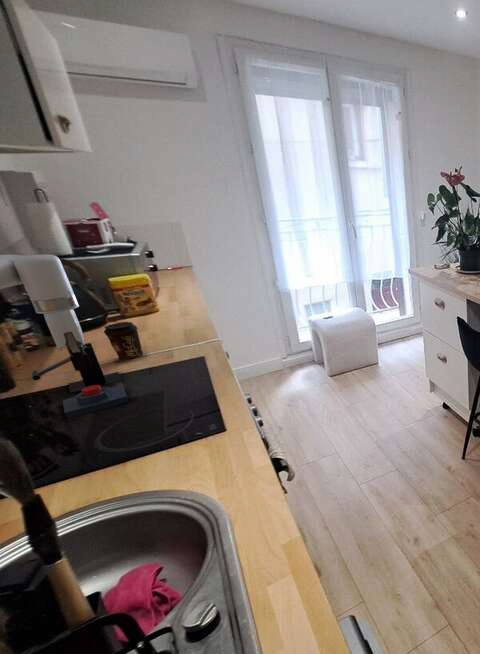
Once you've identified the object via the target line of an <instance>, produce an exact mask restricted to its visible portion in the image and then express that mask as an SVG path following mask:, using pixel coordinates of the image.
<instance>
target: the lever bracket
mask: <svg viewBox="0 0 480 654" xmlns="http://www.w3.org/2000/svg"><path fill="white" fill-rule="evenodd" d="M84 346H86V347H85V348H83V349H84V351H85V353H87V355H88V357H89V360H90V362H91V364H92V368H89V369H85V370H80V371H78V372H79V374H80V376H81V380H77V381H72V382H69V383H68V389H69V394H75V393H78V392H82V391H81V390H82V389H83V388H85V387H88V386H93V385H100V387H104V386H106V385H110V384H115V383H119V382H122V381H123V379H122V377H121V375H120V373H119V371H115V372H111V373H106V374H104V372H103V369H102V367H101V365H100V362H99V360H98V358H97V355H96V352H95V349H94V348H93V345H92V342H88V343H85V344H84V345H83V347H84Z"/></svg>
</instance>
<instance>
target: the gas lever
mask: <svg viewBox="0 0 480 654" xmlns="http://www.w3.org/2000/svg"><path fill="white" fill-rule="evenodd" d="M85 347H86V346H84V347H83V348H85ZM70 362H71V360H70V357H69V356H68V357H66V358H63V359H62V360H59V361H57V362H55V363H53V364H52V365H49V366H47V367H45V368H43V369H41V370H37V369H36V370H33V371H32V373H31V374H32V376H31V377H32V380H34V381H39V380H41V376H43V375H45V374H47V373H50V372H51V371H54V370H56V369H58V368H60V367H61V366H64V365H66V364H68V363H70Z"/></svg>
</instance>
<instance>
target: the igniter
mask: <svg viewBox="0 0 480 654" xmlns="http://www.w3.org/2000/svg"><path fill="white" fill-rule="evenodd" d="M100 387H101V390H102V392H101V393H98V394H95V395H91V396H84V395H83V393H82V391H80V392H79V393H78V394H76V395H75V396H74V397H70V398H66V399H62V406H63V413H64V416H65V417H66V419H71V418H75V417H78V416H83V415H86V414H90V413H93V412H97V411H100V410H104V409H109V408H111V407H116V406H119V405H122V404H123V405H124V404H126V403H129V402H130V401H129V398H128V396H127V394H126V392H125V389H124V386H123V385H122V384H121V385H118V386H114V387H110V388H109V387H108V386H107V387H106V386H100Z"/></svg>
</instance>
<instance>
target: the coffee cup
mask: <svg viewBox="0 0 480 654" xmlns="http://www.w3.org/2000/svg"><path fill="white" fill-rule="evenodd" d="M138 329H139V328H138V326H137V325H135V324H134V323H133V322H131V321H120V322H115V323H111V324H109V325H105V326H104V331H103V333H104V334H105V336H106V337H107V338H108V340H109V343H110V345H111V347H112V348H113V350H114V351H115V353H116V356H117V357H118V360H119V361H123V362H124V361H131V360H135V359H139V358H141V357H143V356H144V352H143V349H142V344H141V339H140V335H139V332H138V331H139V330H138Z"/></svg>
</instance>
